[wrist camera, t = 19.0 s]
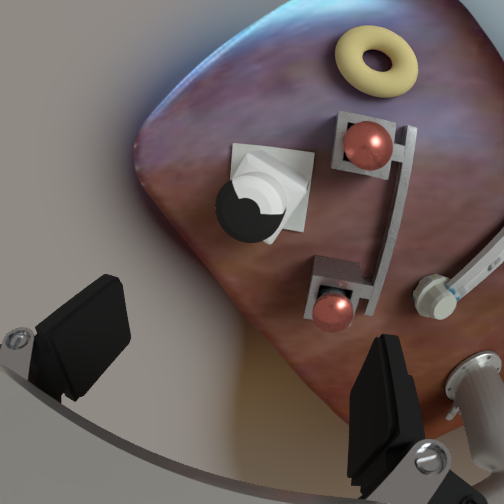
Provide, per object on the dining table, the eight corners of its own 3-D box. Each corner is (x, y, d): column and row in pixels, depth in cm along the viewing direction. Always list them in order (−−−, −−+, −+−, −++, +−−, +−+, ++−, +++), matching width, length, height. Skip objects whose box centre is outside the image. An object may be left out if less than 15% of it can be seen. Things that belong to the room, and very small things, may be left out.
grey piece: (550, 224, 23) (436, 339, 30) (524, 214, 30) (419, 315, 37) (542, 193, 23) (421, 313, 30) (514, 187, 29) (404, 290, 36)
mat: (303, 230, 37) (303, 232, 36) (228, 218, 39) (227, 219, 38) (314, 152, 33) (314, 153, 32) (234, 143, 35) (232, 143, 34)
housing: (370, 308, 39) (375, 333, 33) (306, 296, 40) (302, 321, 35) (412, 128, 29) (428, 127, 23) (336, 111, 30) (339, 106, 25)
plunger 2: (374, 166, 31) (388, 175, 24) (336, 159, 32) (340, 165, 25) (379, 129, 29) (395, 127, 22) (341, 121, 30) (347, 116, 23)
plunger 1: (344, 299, 38) (347, 334, 31) (312, 293, 39) (308, 328, 32) (353, 269, 36) (358, 301, 29) (318, 263, 37) (316, 294, 30)
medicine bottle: (280, 226, 37) (260, 266, 26) (232, 196, 37) (193, 223, 26) (310, 180, 34) (304, 200, 23) (260, 148, 34) (230, 154, 23)
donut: (398, 107, 30) (413, 45, 25) (412, 111, 26) (429, 42, 21) (325, 81, 30) (340, 17, 25) (331, 81, 26) (348, 8, 21)
